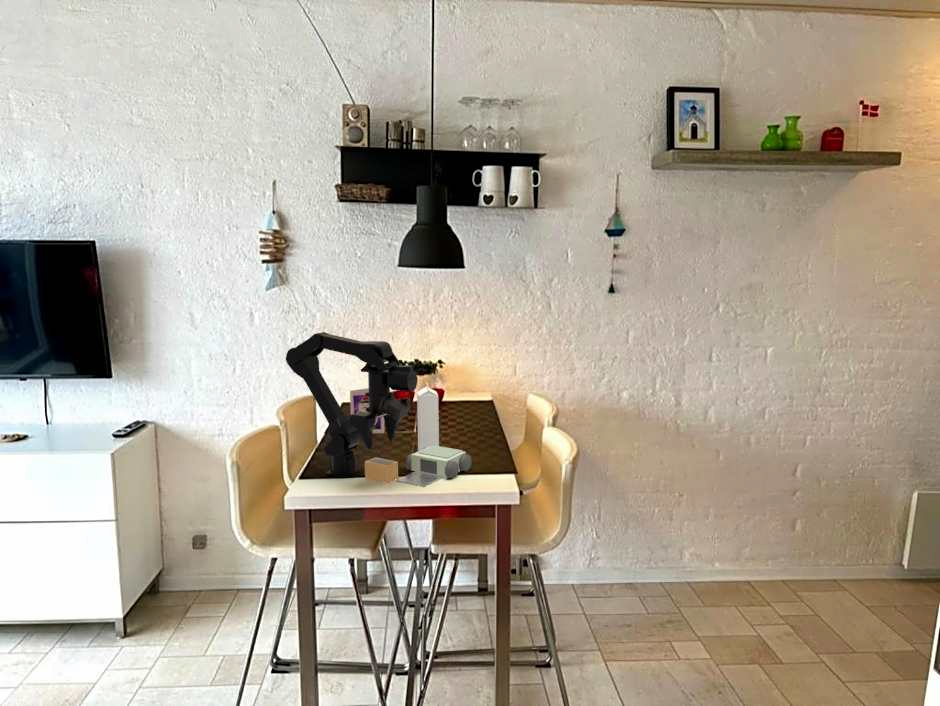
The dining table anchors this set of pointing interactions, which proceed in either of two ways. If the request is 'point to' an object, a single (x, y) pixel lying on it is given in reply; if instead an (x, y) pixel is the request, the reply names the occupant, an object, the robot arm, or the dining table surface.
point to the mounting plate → (419, 478)
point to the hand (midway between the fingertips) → (380, 444)
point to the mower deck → (439, 461)
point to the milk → (427, 418)
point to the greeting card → (364, 407)
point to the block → (381, 470)
